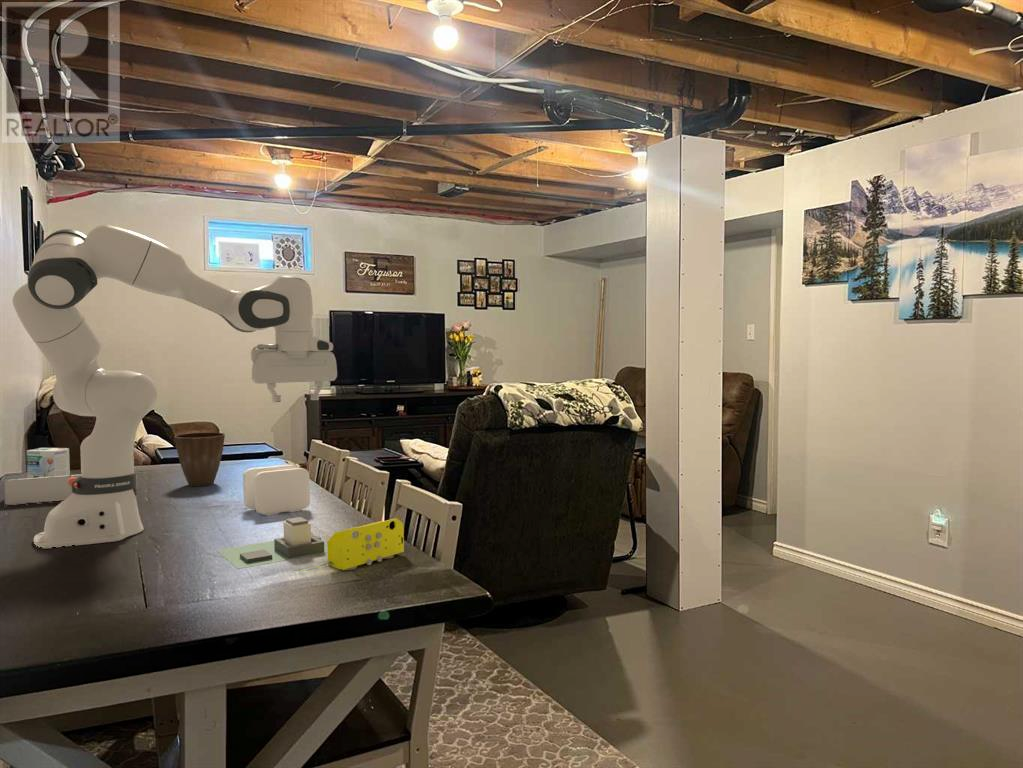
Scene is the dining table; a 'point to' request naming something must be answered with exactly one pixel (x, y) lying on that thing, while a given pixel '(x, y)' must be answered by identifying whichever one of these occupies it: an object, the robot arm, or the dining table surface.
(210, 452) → the plant pot
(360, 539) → the yellow toy chassis
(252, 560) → the board
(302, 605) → the dining table surface
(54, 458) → the light bulb box
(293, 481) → the cable organizer
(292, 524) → the plug
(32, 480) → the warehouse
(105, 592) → the dining table surface
